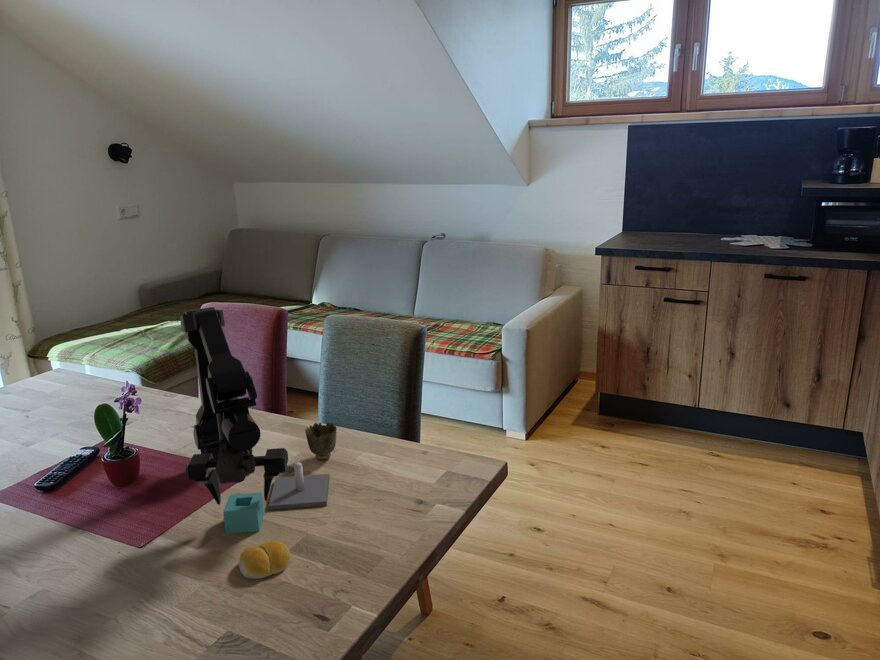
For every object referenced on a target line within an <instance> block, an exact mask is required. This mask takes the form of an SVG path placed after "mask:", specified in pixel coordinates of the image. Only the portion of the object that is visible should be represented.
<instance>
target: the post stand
mask: <svg viewBox="0 0 880 660" xmlns="http://www.w3.org/2000/svg"><path fill="white" fill-rule="evenodd" d="M303 469H304V468H303V463H301V462H299V461H297V462H295V463H294V464H293V471H294V475H293V476H282V477H281V476H280V477H275V480H274V484H273V487H272V491H271V495H270V499H269V502H268V511H272V510H273V511H274V510H286V509H298V508H299V509H300V508H310V507H313V508H314V507H324V506H327V505H328V496H329V487H330V486H329V485H330V473H321V474H309V475H308V474H307V475H304V471H303Z"/></svg>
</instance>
